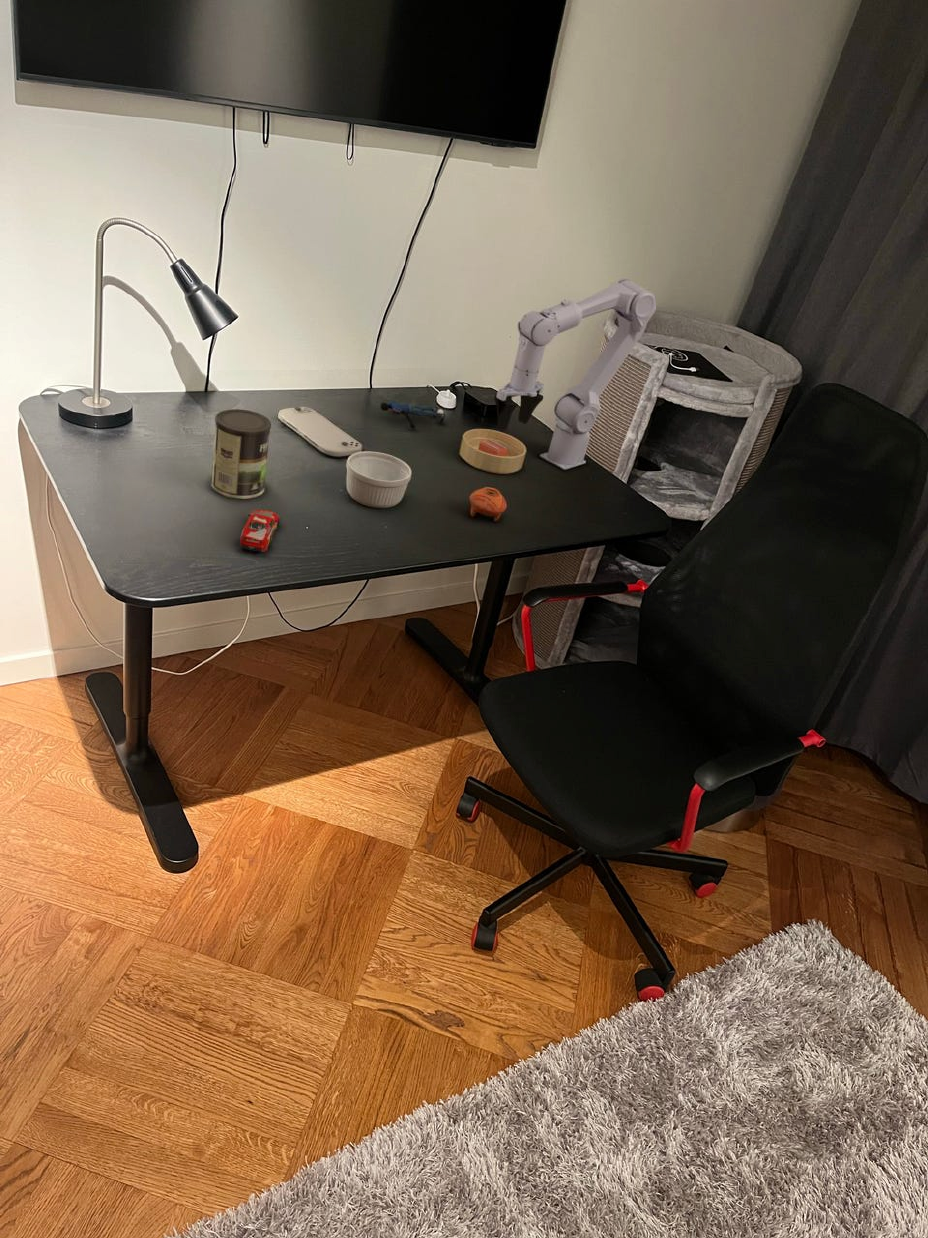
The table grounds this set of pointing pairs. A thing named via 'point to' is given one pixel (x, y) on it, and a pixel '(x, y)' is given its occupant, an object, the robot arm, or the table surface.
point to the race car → (259, 530)
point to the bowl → (490, 461)
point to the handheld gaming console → (319, 432)
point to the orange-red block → (493, 448)
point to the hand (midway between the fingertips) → (512, 424)
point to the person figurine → (413, 411)
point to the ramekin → (377, 479)
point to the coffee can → (240, 453)
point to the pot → (487, 502)
